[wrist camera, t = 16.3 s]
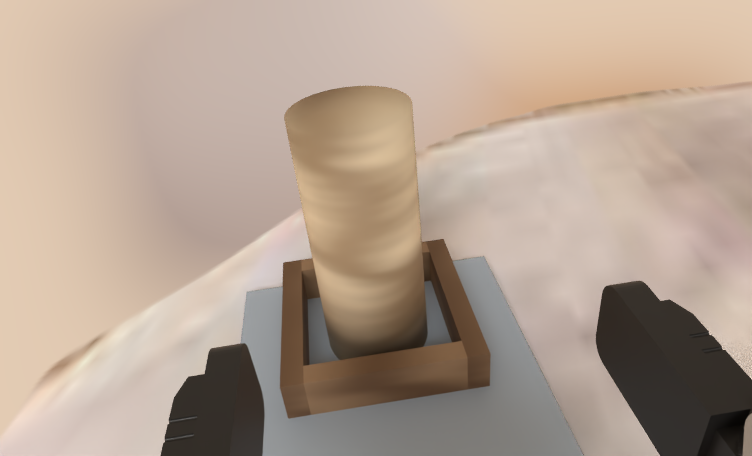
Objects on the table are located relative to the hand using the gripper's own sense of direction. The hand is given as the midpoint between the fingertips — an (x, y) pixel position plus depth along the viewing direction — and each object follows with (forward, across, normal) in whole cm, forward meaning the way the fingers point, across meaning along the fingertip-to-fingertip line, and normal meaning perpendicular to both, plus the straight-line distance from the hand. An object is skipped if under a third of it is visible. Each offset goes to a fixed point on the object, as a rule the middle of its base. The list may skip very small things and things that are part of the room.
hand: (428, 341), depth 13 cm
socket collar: (+12, +1, +12) cm, 17 cm away
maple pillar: (+12, +1, +11) cm, 16 cm away
